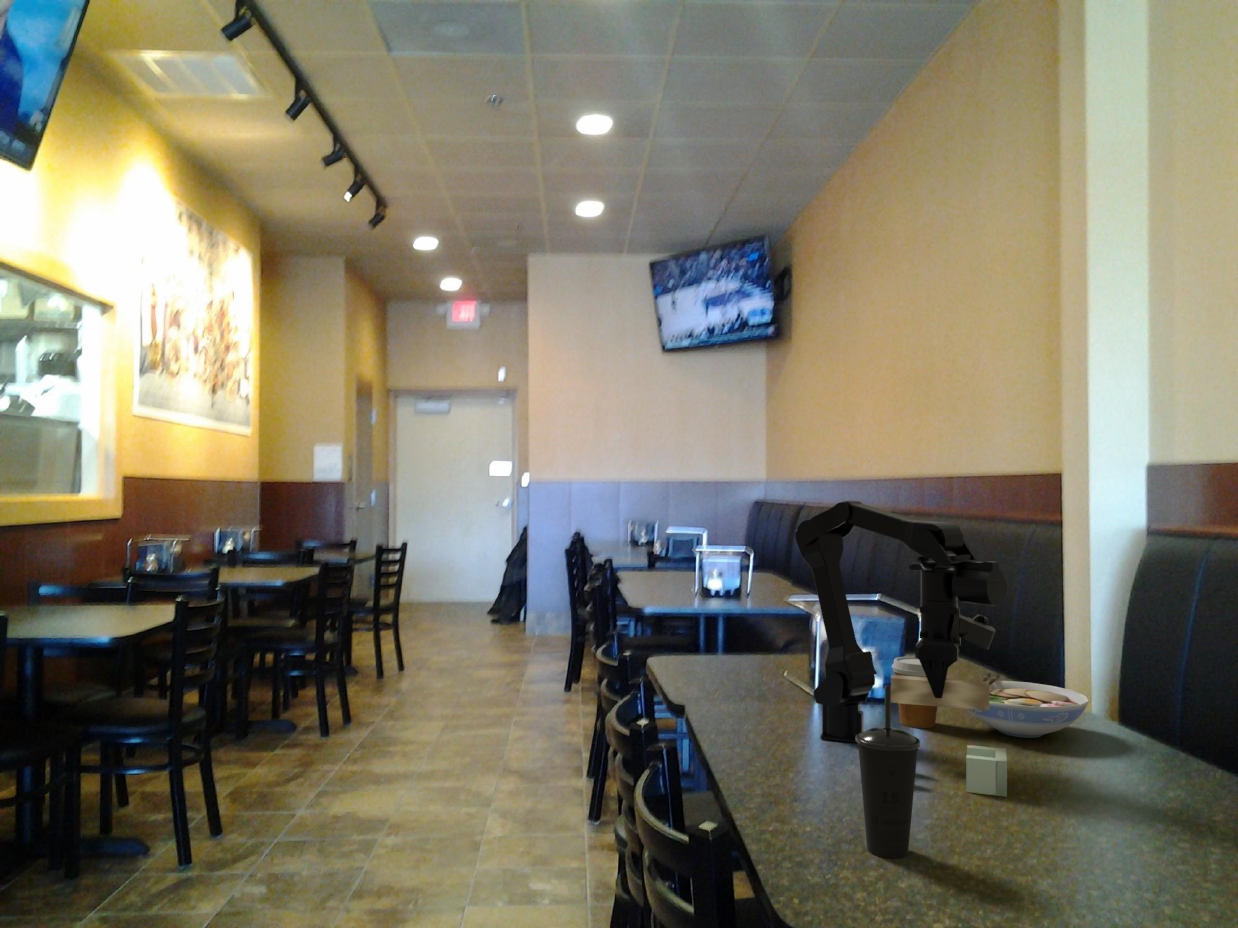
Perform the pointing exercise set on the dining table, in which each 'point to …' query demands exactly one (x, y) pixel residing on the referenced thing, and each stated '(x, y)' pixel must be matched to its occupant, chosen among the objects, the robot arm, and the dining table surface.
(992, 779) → the right end cap
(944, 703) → the slat
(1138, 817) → the dining table surface
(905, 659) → the disposable coffee cup
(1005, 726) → the ramen bowl
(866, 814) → the drinking cup
